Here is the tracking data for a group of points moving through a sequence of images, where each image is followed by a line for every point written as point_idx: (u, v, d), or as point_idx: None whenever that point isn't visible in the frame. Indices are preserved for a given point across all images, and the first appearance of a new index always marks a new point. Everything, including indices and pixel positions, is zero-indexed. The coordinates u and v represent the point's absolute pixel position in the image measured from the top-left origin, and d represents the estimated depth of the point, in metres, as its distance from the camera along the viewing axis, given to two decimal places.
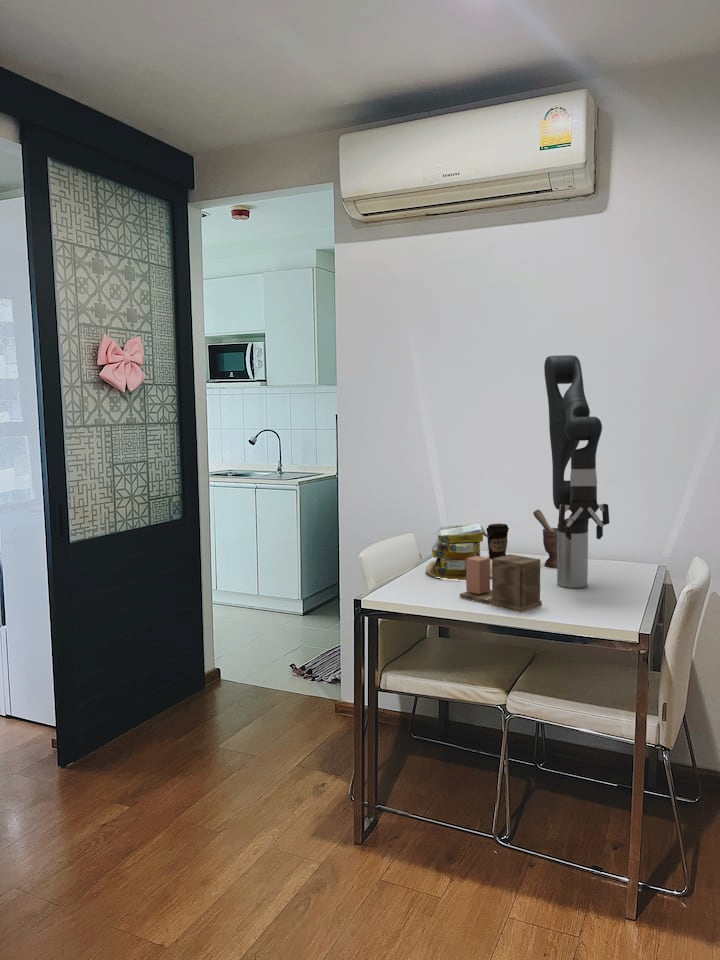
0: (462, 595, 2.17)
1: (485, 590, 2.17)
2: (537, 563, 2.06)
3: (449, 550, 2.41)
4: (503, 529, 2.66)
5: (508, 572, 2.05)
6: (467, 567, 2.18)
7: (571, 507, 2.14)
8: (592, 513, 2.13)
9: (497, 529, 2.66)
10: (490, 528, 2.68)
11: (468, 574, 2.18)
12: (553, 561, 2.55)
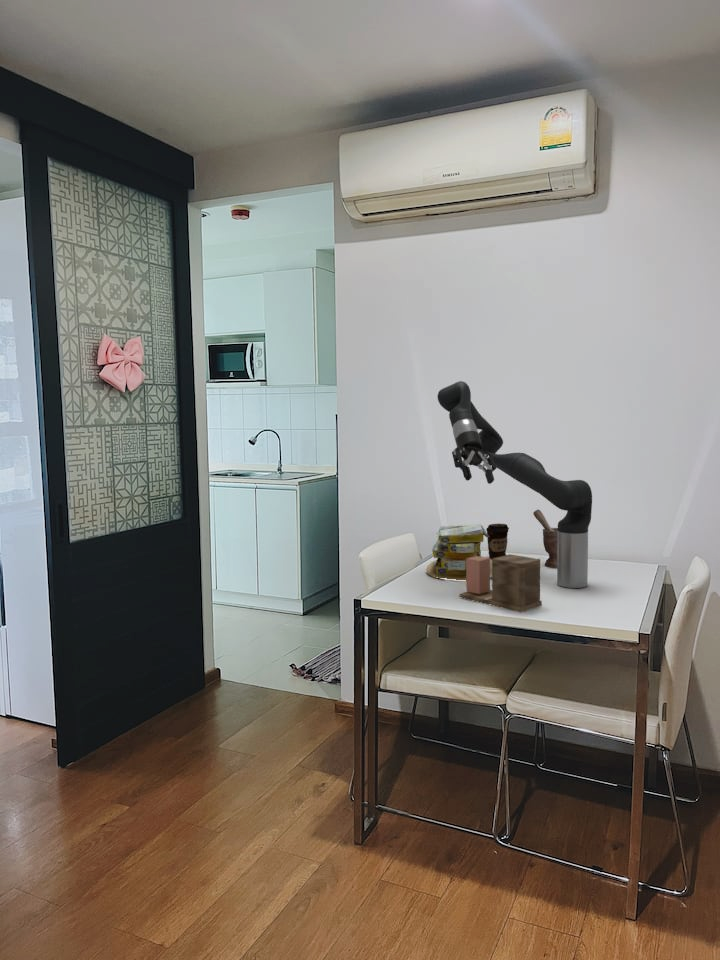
0: (462, 595, 2.17)
1: (485, 590, 2.17)
2: (537, 563, 2.06)
3: (449, 550, 2.41)
4: (503, 529, 2.66)
5: (508, 572, 2.05)
6: (467, 567, 2.18)
7: (464, 451, 2.21)
8: (482, 457, 2.22)
9: (497, 529, 2.66)
10: (490, 528, 2.68)
11: (468, 574, 2.18)
12: (553, 561, 2.55)
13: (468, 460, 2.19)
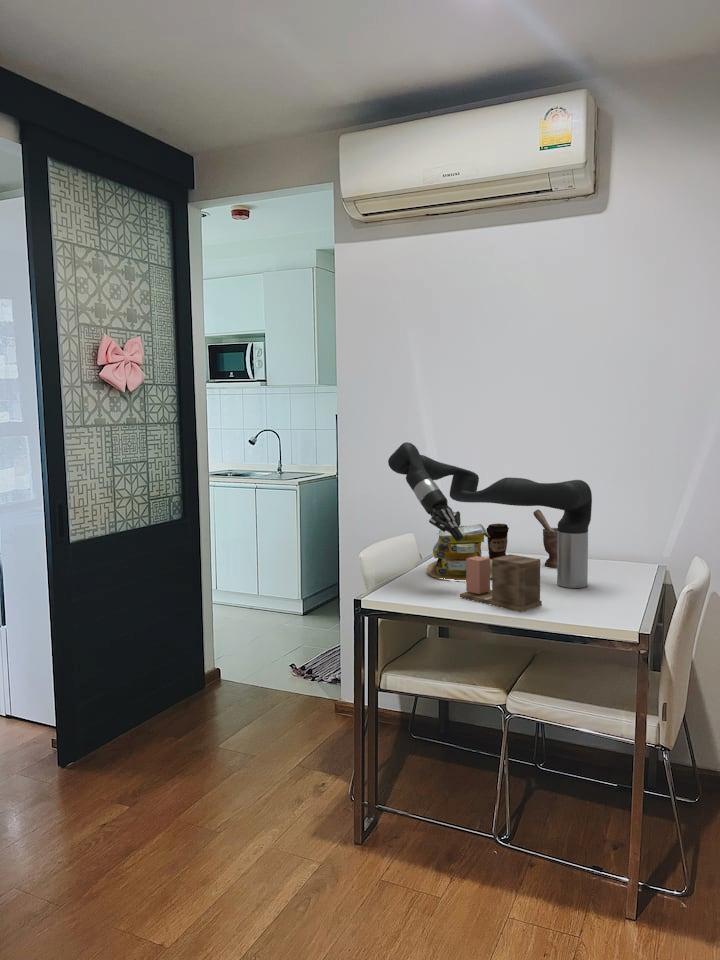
0: (462, 595, 2.17)
1: (485, 590, 2.17)
2: (537, 563, 2.06)
3: (450, 550, 2.40)
4: (503, 529, 2.66)
5: (508, 572, 2.05)
6: (467, 567, 2.18)
7: (436, 512, 2.24)
8: (450, 513, 2.26)
9: (497, 529, 2.66)
10: (490, 528, 2.68)
11: (468, 574, 2.18)
12: (553, 561, 2.55)
13: (449, 521, 2.23)
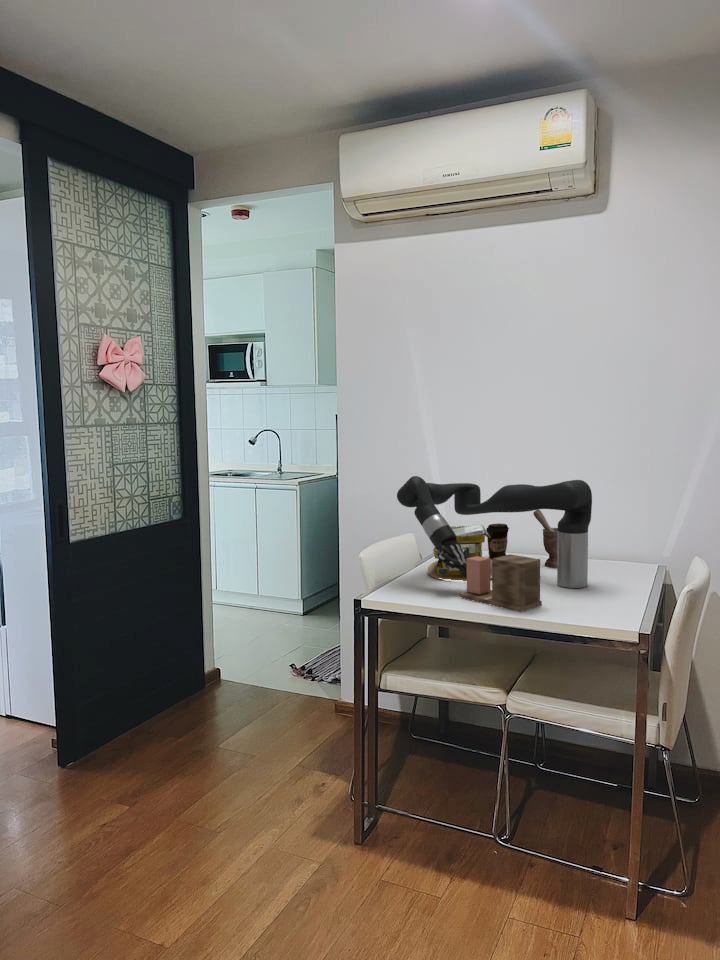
0: (462, 595, 2.17)
1: (485, 590, 2.17)
2: (537, 563, 2.06)
3: None
4: (503, 529, 2.66)
5: (508, 572, 2.05)
6: (467, 567, 2.18)
7: (445, 549, 2.22)
8: (459, 550, 2.24)
9: (497, 529, 2.66)
10: (490, 528, 2.68)
11: (468, 574, 2.18)
12: (553, 561, 2.55)
13: (458, 558, 2.21)
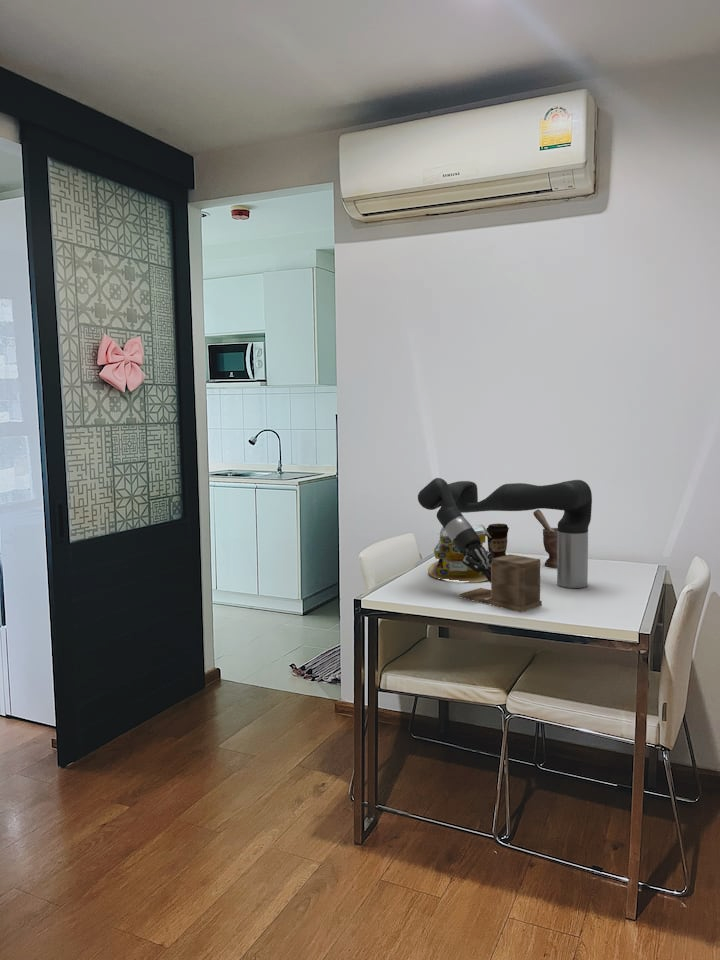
0: (462, 595, 2.17)
1: None
2: (537, 563, 2.06)
3: (451, 551, 2.39)
4: (503, 529, 2.66)
5: (508, 572, 2.05)
6: None
7: (469, 553, 2.15)
8: (483, 553, 2.17)
9: (497, 529, 2.66)
10: (490, 528, 2.68)
11: None
12: (553, 561, 2.55)
13: (483, 561, 2.15)
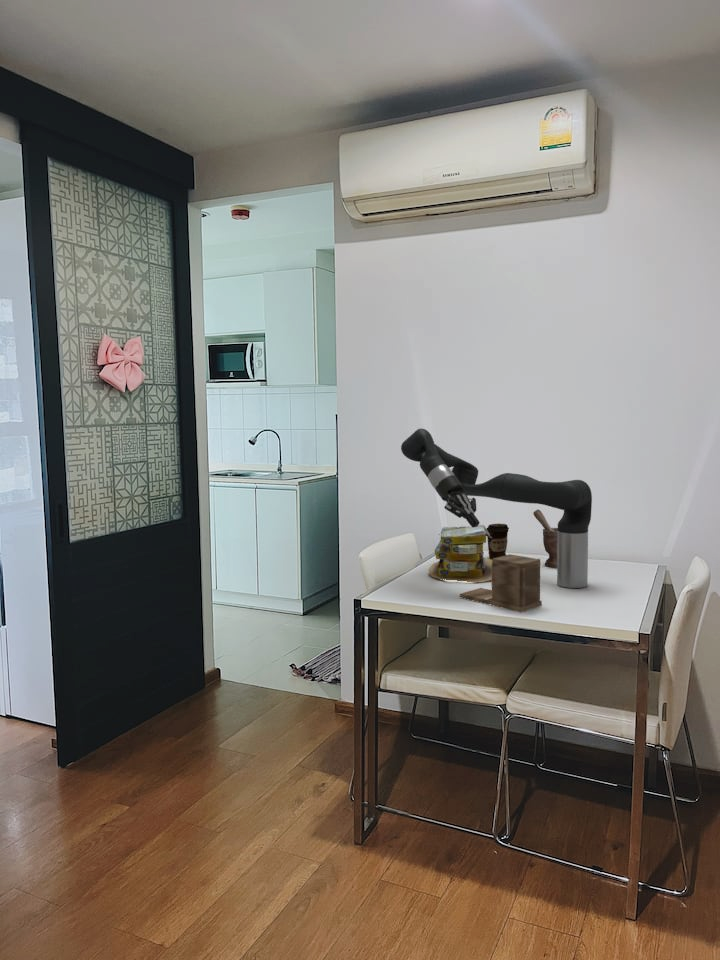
0: (462, 595, 2.17)
1: None
2: (537, 563, 2.06)
3: (452, 551, 2.39)
4: (503, 529, 2.66)
5: (508, 572, 2.05)
6: None
7: (451, 498, 2.19)
8: (465, 499, 2.21)
9: (497, 529, 2.66)
10: (490, 528, 2.68)
11: None
12: (553, 561, 2.55)
13: (465, 507, 2.19)
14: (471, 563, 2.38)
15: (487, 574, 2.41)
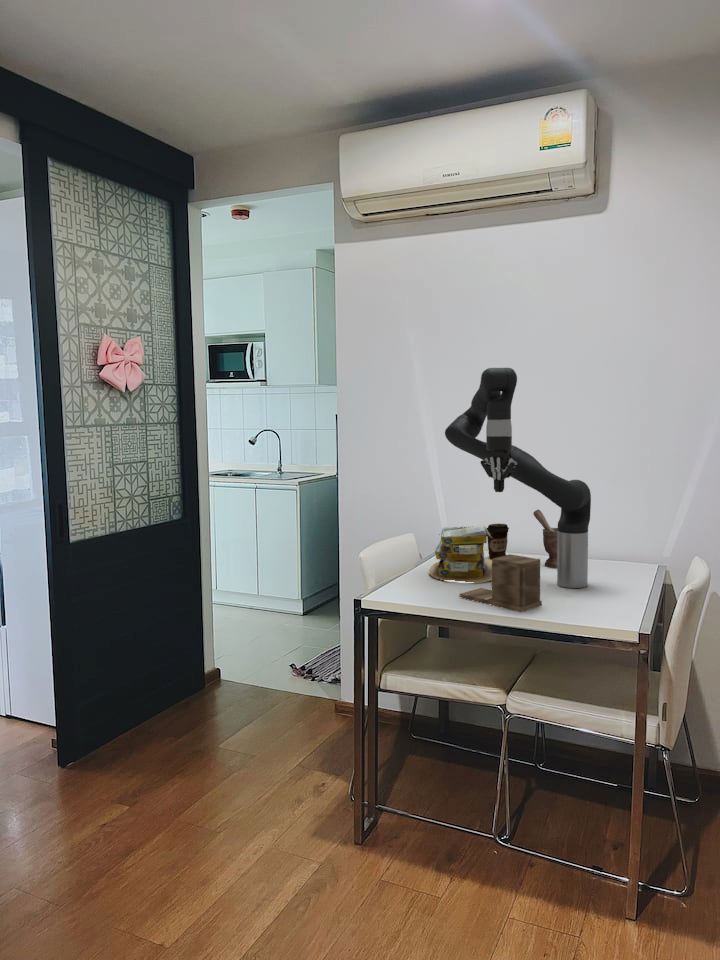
0: (462, 595, 2.17)
1: None
2: (537, 563, 2.06)
3: (452, 552, 2.38)
4: (503, 529, 2.66)
5: (508, 572, 2.05)
6: None
7: None
8: None
9: (497, 529, 2.66)
10: (490, 528, 2.68)
11: None
12: (553, 561, 2.55)
13: None
14: (471, 563, 2.38)
15: (487, 575, 2.41)
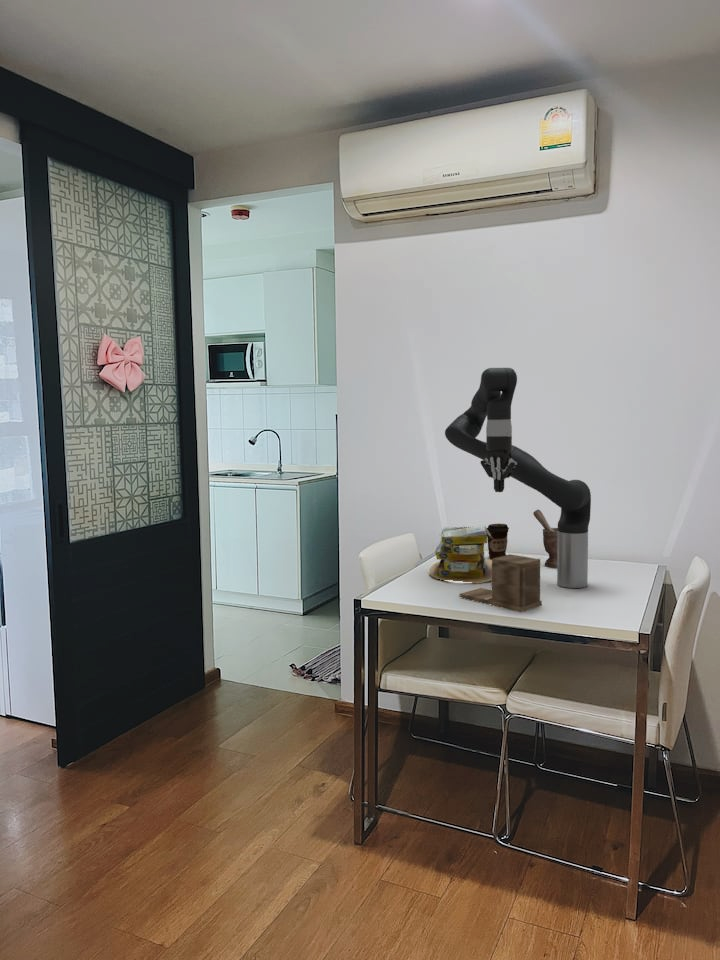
0: (462, 595, 2.17)
1: None
2: (537, 563, 2.06)
3: (453, 552, 2.38)
4: (503, 529, 2.66)
5: (508, 572, 2.05)
6: None
7: None
8: None
9: (497, 529, 2.66)
10: (490, 528, 2.68)
11: None
12: (553, 561, 2.55)
13: None
14: (472, 563, 2.38)
15: (488, 575, 2.41)
